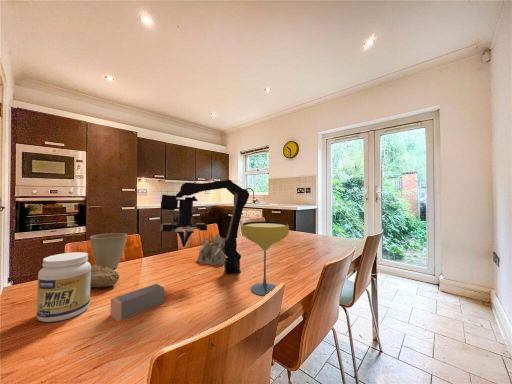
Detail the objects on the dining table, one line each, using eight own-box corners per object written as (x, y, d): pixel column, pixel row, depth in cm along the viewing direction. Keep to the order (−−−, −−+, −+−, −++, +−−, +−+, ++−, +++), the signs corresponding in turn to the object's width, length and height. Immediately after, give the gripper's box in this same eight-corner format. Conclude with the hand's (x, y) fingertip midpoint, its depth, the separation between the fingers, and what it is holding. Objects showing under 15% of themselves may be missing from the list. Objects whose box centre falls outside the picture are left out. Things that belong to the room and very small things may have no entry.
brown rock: (75, 284, 91) (74, 290, 75) (80, 264, 93) (80, 266, 78) (112, 283, 98) (118, 288, 83) (116, 264, 101) (123, 266, 85)
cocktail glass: (245, 279, 94) (246, 220, 95) (288, 281, 92) (288, 221, 92) (236, 298, 76) (237, 226, 77) (288, 302, 74) (289, 228, 74)
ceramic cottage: (198, 257, 127) (199, 231, 126) (226, 257, 129) (228, 232, 129) (194, 267, 112) (195, 238, 111) (227, 267, 114) (228, 239, 113)
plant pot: (127, 270, 104) (128, 236, 105) (88, 276, 96) (89, 239, 96) (125, 262, 117) (125, 231, 117) (90, 266, 108) (90, 234, 109)
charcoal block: (156, 283, 76) (110, 298, 65) (164, 287, 73) (117, 303, 62) (156, 298, 76) (110, 315, 65) (163, 302, 73) (117, 321, 62)
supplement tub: (26, 328, 58) (28, 264, 59) (48, 307, 69) (49, 253, 70) (83, 318, 63) (84, 259, 64) (94, 300, 74) (96, 249, 75)
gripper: (201, 210, 108) (199, 242, 108) (160, 209, 99) (158, 244, 99) (208, 212, 99) (206, 247, 98) (163, 211, 89) (161, 249, 89)
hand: (183, 246), depth 96 cm, fingers closed
